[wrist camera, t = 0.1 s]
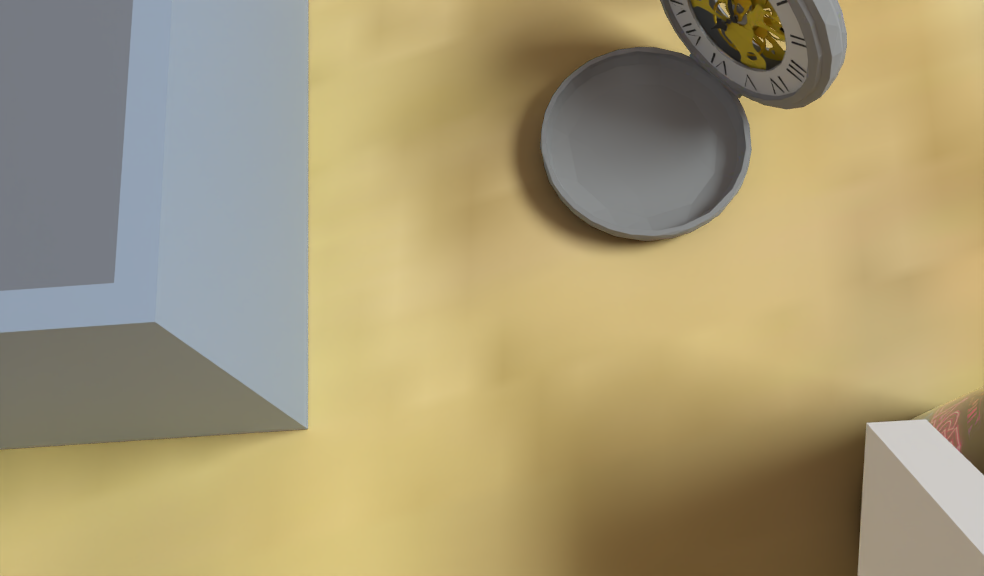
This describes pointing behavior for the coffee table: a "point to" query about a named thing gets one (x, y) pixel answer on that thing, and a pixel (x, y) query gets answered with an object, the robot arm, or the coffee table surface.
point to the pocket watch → (683, 112)
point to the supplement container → (960, 426)
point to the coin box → (152, 219)
